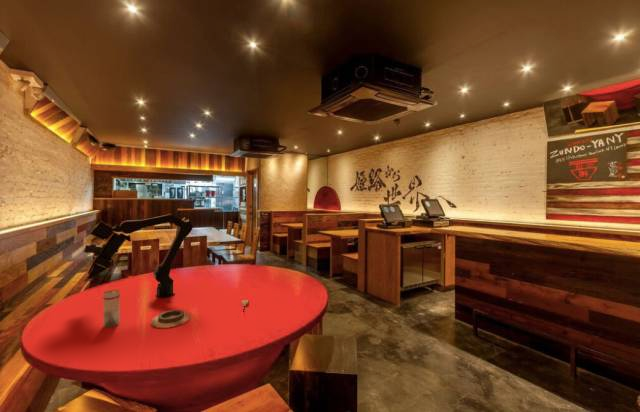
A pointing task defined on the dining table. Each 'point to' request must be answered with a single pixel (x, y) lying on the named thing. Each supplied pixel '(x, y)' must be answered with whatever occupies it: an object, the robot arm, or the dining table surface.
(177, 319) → the collar board
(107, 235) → the robot arm
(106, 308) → the grey lidded canister
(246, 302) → the fork
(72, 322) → the dining table surface
